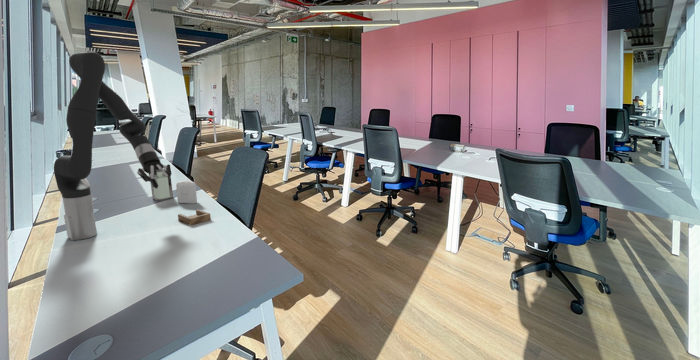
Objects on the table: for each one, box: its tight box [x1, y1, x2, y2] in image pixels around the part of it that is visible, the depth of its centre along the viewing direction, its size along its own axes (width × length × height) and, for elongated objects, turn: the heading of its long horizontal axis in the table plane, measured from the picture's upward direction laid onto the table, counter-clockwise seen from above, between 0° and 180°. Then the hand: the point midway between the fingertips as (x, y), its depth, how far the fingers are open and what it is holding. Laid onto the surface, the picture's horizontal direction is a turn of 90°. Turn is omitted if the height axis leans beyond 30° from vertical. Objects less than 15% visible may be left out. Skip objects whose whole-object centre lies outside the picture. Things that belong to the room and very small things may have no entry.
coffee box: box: [150, 168, 174, 202], centre depth 204 cm, size 9×6×16 cm
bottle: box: [153, 169, 170, 200], centre depth 158 cm, size 5×5×12 cm
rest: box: [177, 209, 212, 226], centre depth 168 cm, size 10×11×3 cm
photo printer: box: [175, 180, 198, 205], centre depth 196 cm, size 10×4×12 cm, turn 82°
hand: (163, 186), depth 157 cm, fingers closed on bottle, 4 cm apart
